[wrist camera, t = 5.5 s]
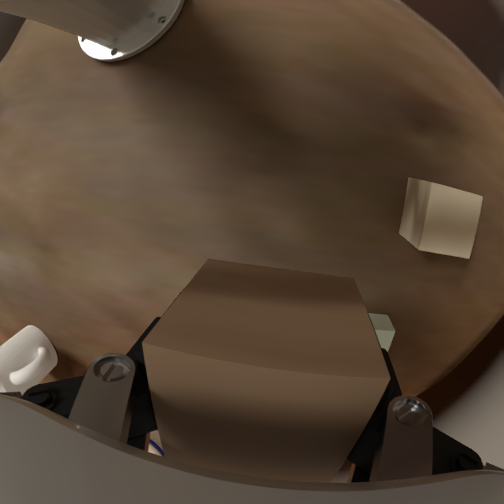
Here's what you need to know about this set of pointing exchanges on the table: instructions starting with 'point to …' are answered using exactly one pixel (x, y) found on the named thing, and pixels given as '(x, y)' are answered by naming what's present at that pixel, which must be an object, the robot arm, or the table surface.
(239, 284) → the walnut block
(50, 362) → the mug
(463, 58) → the table surface
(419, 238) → the ash block
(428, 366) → the table surface
